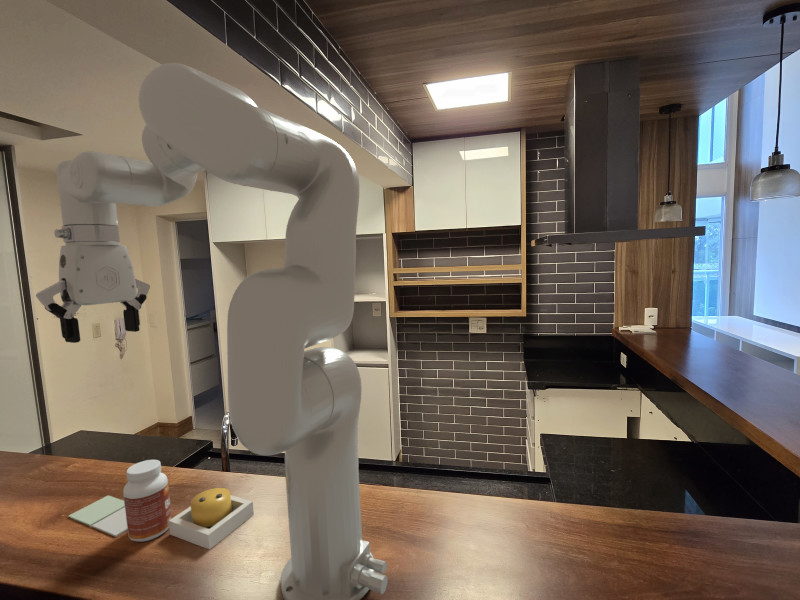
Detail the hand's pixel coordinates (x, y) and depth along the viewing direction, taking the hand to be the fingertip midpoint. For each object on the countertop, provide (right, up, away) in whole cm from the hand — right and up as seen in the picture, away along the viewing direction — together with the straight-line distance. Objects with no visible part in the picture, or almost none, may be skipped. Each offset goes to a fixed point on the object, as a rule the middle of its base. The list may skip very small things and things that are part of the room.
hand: (104, 336), depth 71 cm
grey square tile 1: (+4, -31, -1) cm, 32 cm away
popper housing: (+21, -31, -3) cm, 37 cm away
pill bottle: (+11, -32, -4) cm, 34 cm away
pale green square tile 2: (-2, -31, +2) cm, 31 cm away
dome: (+21, -29, -4) cm, 36 cm away
